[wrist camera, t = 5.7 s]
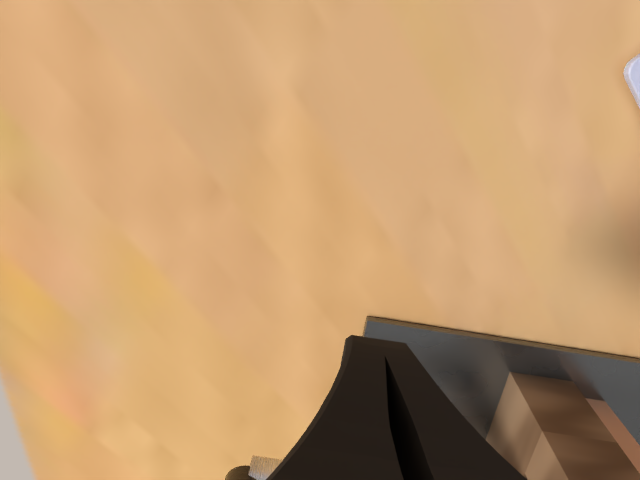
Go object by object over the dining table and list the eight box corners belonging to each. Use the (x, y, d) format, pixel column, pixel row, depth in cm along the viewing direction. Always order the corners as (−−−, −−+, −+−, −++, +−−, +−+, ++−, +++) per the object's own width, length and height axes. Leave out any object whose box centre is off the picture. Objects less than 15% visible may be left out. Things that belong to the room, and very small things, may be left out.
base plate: (695, 367, 22) (701, 372, 22) (615, 521, 26) (619, 528, 25) (366, 316, 22) (367, 320, 22) (331, 478, 26) (331, 485, 25)
